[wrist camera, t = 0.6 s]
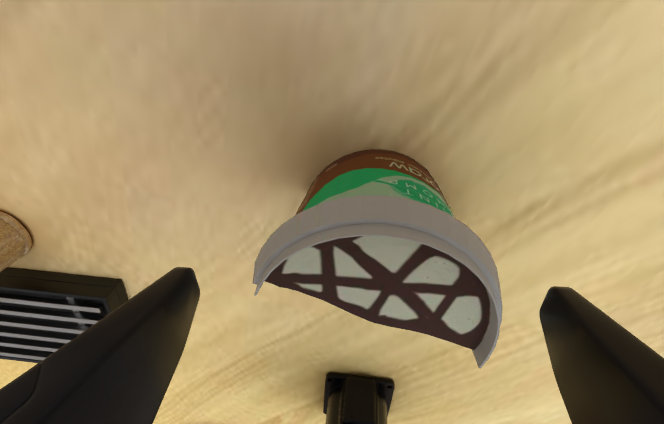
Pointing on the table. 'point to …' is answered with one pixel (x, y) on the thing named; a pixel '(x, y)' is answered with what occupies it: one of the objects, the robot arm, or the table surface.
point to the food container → (388, 252)
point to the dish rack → (50, 310)
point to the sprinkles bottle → (12, 240)
